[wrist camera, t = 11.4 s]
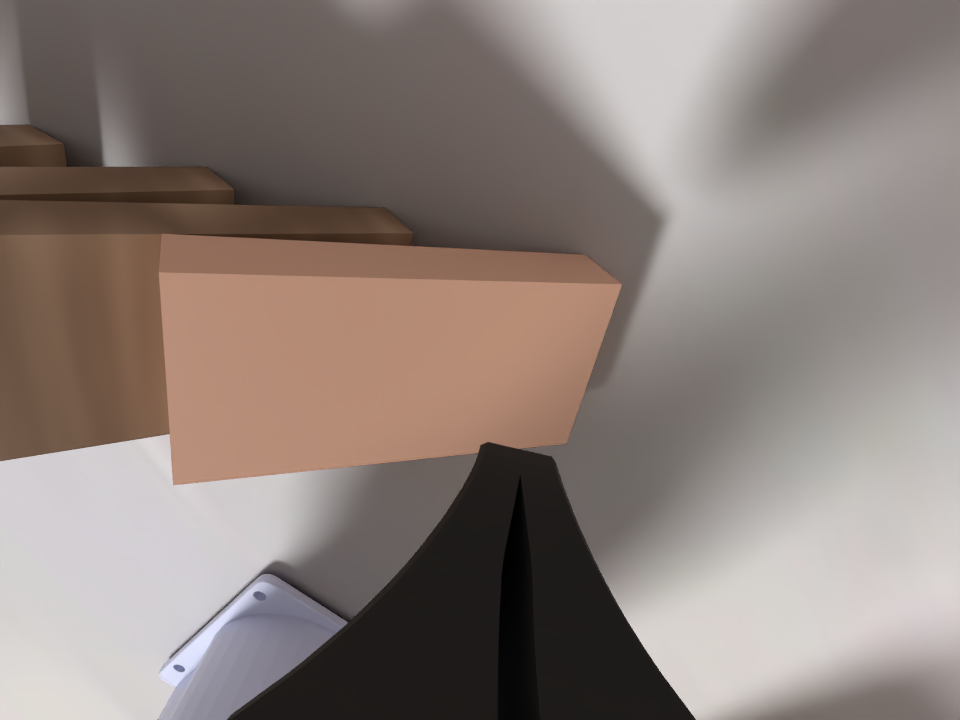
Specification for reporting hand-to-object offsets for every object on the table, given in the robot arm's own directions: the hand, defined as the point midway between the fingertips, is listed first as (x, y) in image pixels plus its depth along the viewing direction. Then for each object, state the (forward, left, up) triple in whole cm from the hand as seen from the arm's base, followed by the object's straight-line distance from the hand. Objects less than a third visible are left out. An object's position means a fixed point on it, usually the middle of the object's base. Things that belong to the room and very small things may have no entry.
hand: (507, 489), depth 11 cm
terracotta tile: (+1, -1, -6) cm, 6 cm away
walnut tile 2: (-2, +3, -6) cm, 7 cm away
